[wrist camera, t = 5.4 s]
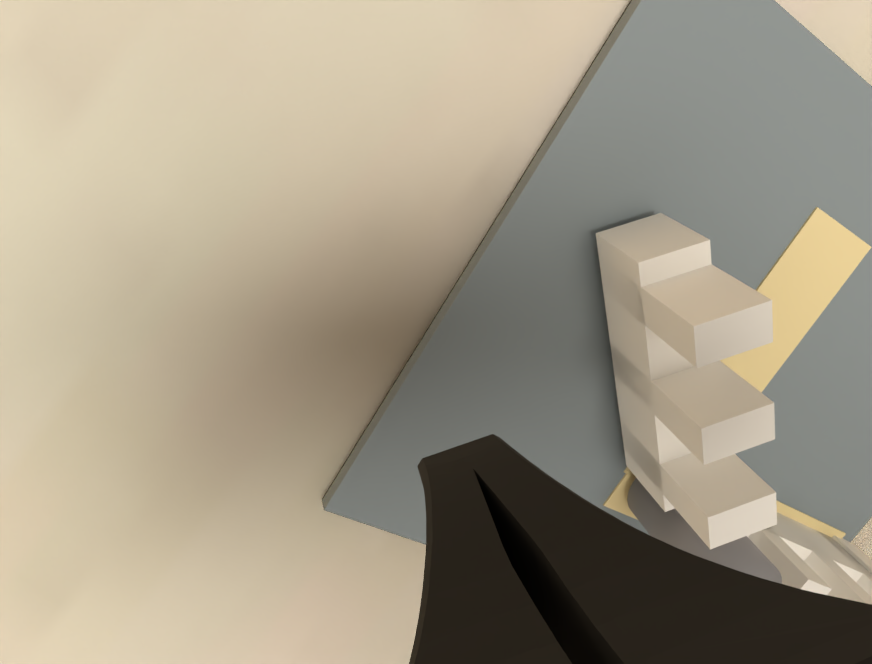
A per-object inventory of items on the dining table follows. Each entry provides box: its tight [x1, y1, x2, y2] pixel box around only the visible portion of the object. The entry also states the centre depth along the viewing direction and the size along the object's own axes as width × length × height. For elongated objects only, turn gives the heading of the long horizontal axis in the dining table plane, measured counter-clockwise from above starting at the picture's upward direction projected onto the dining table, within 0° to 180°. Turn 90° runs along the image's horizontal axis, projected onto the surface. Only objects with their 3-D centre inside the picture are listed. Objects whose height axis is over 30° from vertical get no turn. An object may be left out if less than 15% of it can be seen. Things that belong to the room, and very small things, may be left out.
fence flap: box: [596, 213, 782, 584], centre depth 18 cm, size 9×2×4 cm, turn 13°
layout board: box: [322, 0, 872, 544], centre depth 21 cm, size 16×15×1 cm
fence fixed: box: [747, 512, 872, 604], centre depth 22 cm, size 7×2×4 cm, turn 58°
